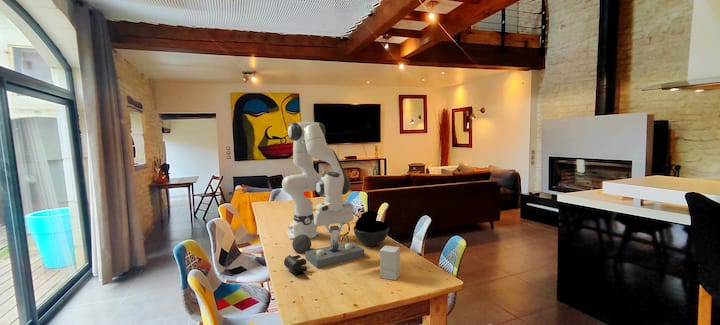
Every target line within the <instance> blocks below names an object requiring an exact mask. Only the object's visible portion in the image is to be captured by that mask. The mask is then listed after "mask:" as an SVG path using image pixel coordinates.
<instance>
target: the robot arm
mask: <svg viewBox="0 0 720 325" xmlns="http://www.w3.org/2000/svg"><path fill="white" fill-rule="evenodd" d="M287 135H288V136H287V137H288V138H289V140H291V141H293V144H292V158H293V159H292V160H293V165H294V167H296V168H298V169H300V170H301V172H302V173H301V174H298V173H297V174H291V175H288V176H285V177H284V178H282V180H281V181H282V182H281V187H282V189H283V192H284V193H287V194H288V195H289V196H290V197H291V199H292V201H293V206H294V207H293V208H294V213H293V220H292V222H290V223H289V224H290V225H289V226H288V230H286V234H287V236H288V239H289V240H294V238H295V237H296V236H298V235H300V234H304V235H307V236H308V237H309V238H310V240H311V239H313V238H315V237H317V235H319V231H317V227H322V226H324V227H325V228H326V230H327V234H331V229H330V226H331V225H335V224H339V225H338V226H339V229H338V230H339V233H340V232H342V228H343V226H344V223H349V222H353V220H354V212H353V210H354V205H353V204H352V203H350V202H348V203H344V202H343V201H344V200H343V195H346V194H348V193H349V191H350V189H351V181H350V179H349V176H347V174H346V173H345V172H346V171H344V168H343V166H342V163H341V161H340V159H339V156H338V155H337V153H336V152H335V150H333V149H332V148H330V146H329V145H328V143H327V140H326V138H325V136H326V127H325V124H324V123H322V122H317V121H315V122H314V121H300V122H296V121H295V122H291V123H290V124H289V125H288V127H287ZM313 159H316V160H319V161H322V162H325V163H326V164H329V166H331V169H332V171H328V172H326V173H325V174H324V176H322V175H321V174H320V173H318V172H317V171H316V169H315V168H314V165H313ZM314 191H315V192H316V193H317V194H318V195H319V196H325V198H324V201H322V202H320V203H317V204H316V205H315V209H316V210H315V211H314V206H313V201H312V199H311V198H309V197H306V196H305V194H304V193H305V192H314Z"/></svg>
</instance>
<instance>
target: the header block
mask: <svg viewBox="0 0 720 325" xmlns="http://www.w3.org/2000/svg"><path fill="white" fill-rule="evenodd" d="M342 244H343V247H342ZM304 254H305V258H304V259H305V260H306V261H308V262H309V264H311V265H312V266H314V267H315V268H316V269H320V268H324V267H328V266H333V265H336V264H340V263H345V262H348V261H352V260H356V259H361V258H365V249H364V248H362V247H360V246H359V245H356V243H354V242H352V241H348V242H344V243H339V248H338V249H331V245H330V246H326V247H325V246H324V247H321V248H320V247H319V248H316V249H312V250H310V249H309V250H308V251H306V252H304Z"/></svg>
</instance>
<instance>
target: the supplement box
mask: <svg viewBox="0 0 720 325" xmlns="http://www.w3.org/2000/svg"><path fill="white" fill-rule="evenodd" d="M379 272H380V273H379V274H380V276H379V278H380V279H386V280H392V281H396V280H397V279H398V278H399V277H400V275H401V247H400V246H394V245H384V246H383V247H382V248H381V249H380V250H379Z"/></svg>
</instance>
